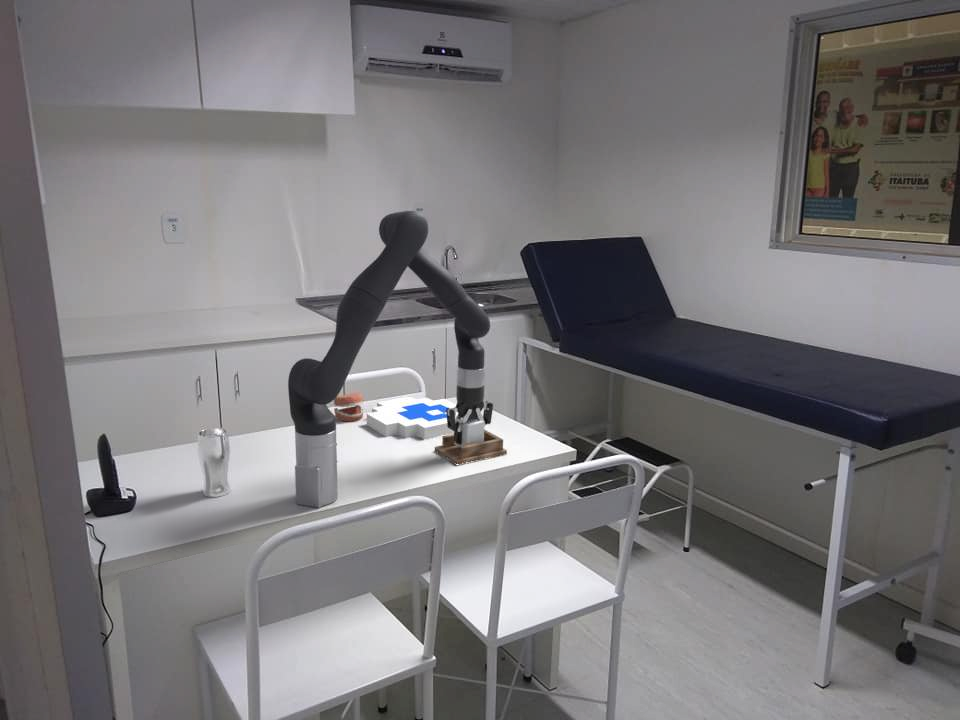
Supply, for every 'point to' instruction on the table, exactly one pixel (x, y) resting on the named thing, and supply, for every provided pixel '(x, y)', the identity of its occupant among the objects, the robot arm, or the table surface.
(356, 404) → the dentures
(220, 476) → the beer glass
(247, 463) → the table surface
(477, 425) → the product box
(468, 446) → the U-rest
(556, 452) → the table surface
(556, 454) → the table surface
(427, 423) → the pixel art tile
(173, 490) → the table surface
